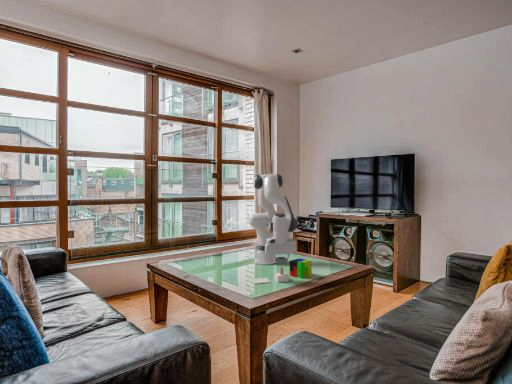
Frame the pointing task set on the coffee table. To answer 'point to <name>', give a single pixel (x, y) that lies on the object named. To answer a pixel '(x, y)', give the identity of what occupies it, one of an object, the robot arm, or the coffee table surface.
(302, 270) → the puzzle toy
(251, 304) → the coffee table surface
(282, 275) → the peg stand
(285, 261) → the ring
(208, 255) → the coffee table surface
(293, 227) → the robot arm
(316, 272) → the coffee table surface
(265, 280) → the coaster
